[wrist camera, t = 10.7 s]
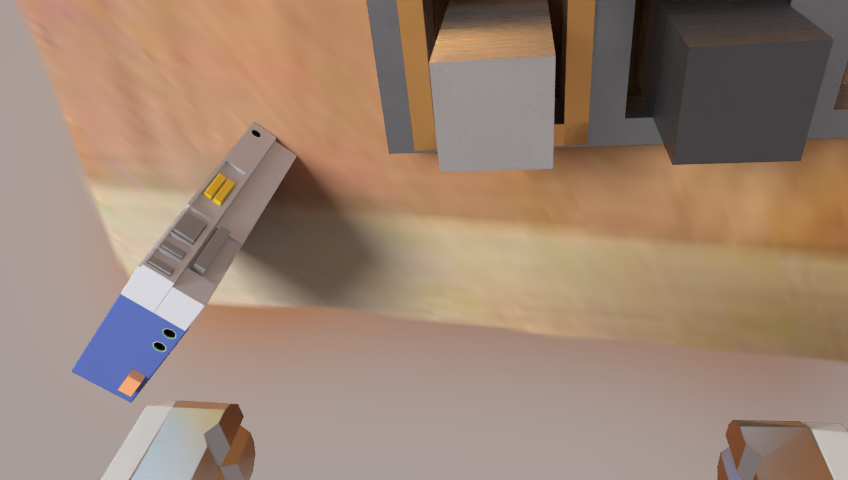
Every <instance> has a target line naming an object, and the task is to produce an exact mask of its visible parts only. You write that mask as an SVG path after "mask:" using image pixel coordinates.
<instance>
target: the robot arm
mask: <svg viewBox="0 0 848 480" xmlns="http://www.w3.org/2000/svg"><path fill="white" fill-rule="evenodd" d="M242 419H243V414H242V412H241V410H240V408H239V405H238V404H227V403H210V402H194V401H177V400H156V399H155V400H153V401H152V402H151V403H150V404H148V405H147V406H146V407H145V409H144V410H143V412H142V413H141V415H140V417H139V418H138V420H137V422H136V423H135V425H134V426H133V428H132V430H131V431H130V433H129V435H128V436H127V438H126V439H125V441H124V443H123V444H122V446H121V447H120V449H119V451H118V452H117V454H116V456H115V457H114V459H113V461H112V462H111V464H110V465H109V467H108V468H107V470H106V472H105V473H104V475H103V477H102V478H101V480H250V477H251V474H252V472H253V466H254V459H255V447H254V441H253V438H252V436H251V433H250V432H248V431H247V430H246V429H245V428H243V427H242V426H241V425H240V424H241V422H242ZM726 438H727V441H728V444H729V448H727V449H726V450H724V451H723V452H721V453H720V458H719V462H718V480H848V430H847V429H846V428H845V427H844V426H843V425H842V424H837V423H807V422H804V423H801V422H800V421H755V420H754V421H751V420H733V421H732V422H731V423H730V424H729V426H728V429H727V432H726Z"/></svg>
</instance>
